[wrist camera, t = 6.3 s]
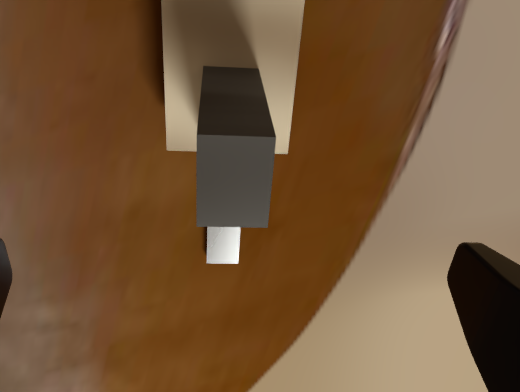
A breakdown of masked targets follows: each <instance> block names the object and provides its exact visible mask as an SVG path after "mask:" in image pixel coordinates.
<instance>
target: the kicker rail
mask: <svg viewBox="0 0 520 392" xmlns="http://www.w3.org/2000/svg"><path fill="white" fill-rule="evenodd" d="M239 243H240V227H207V263H220V264H238V260H239Z"/></svg>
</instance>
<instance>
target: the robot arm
mask: <svg viewBox="0 0 520 392" xmlns="http://www.w3.org/2000/svg"><path fill="white" fill-rule="evenodd" d="M447 281H448V286H449V289H450V292H451V295H452V298H453V301H454V304H455V307H456V310H457V313H458V316H459V319H460V323H461V326H462V328H463V332H464V335H465V338H466V340H467V343H468V346H469V349H470V351H471V354H472V356H473V358H474V361H475V363H476V365H477V367H478V369H479V372H480V374H481V376H482V378H483V381H484V383H485V385H486V387H487V389H488V392H520V265H519V264H517V263H515V262H514V261H512V260H510V259H508V258H507V257H505V256H503V255H501V254H499V253H498V252H496V251H494V250H493V249H491V248H489V247H487V246H486V245H484V244H482V243H467V242H466V243H465V242H464V243H461V244H459V246H458V247H457V249H456V252H455V254H454V257H453V260H452V263H451V266H450V268H449V271H448V276H447ZM11 283H12V269H11V265H10V261H9V258H8V254H7V250H6V247H5V244H4V241H3V240H2V239H1V238H0V318H1V315H2V311H3V308H4V305H5V302H6V299H7V296H8V293H9V289H10V286H11Z"/></svg>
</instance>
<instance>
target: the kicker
mask: <svg viewBox="0 0 520 392" xmlns="http://www.w3.org/2000/svg"><path fill="white" fill-rule="evenodd" d="M304 2H305V0H161V8H162V35H163V61H164V88H165V115H166V141H167V150H170V151H197V227H264V228H268V218H269V207H270V197H271V186H272V176H273V165H274V155H275V154H288V146H289V137H290V128H291V119H292V110H293V101H294V92H295V83H296V74H297V65H298V56H299V47H300V38H301V29H302V20H303V11H304Z"/></svg>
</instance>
